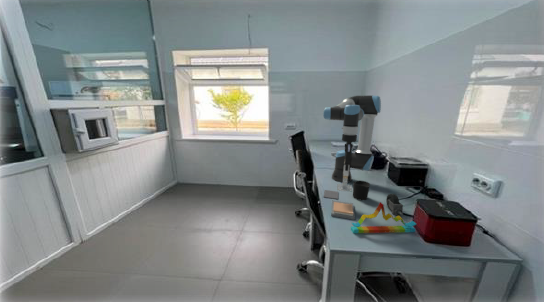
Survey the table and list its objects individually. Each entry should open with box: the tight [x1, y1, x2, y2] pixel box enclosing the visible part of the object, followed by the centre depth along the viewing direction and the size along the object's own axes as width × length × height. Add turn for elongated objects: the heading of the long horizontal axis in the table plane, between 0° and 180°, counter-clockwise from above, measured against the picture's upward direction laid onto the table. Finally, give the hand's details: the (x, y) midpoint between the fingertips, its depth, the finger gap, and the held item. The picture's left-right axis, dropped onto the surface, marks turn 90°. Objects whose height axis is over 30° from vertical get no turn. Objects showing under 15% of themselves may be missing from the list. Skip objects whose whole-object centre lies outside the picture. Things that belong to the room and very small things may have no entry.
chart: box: [350, 202, 417, 234], centre depth 99 cm, size 30×3×15 cm, turn 93°
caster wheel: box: [385, 193, 404, 216], centre depth 117 cm, size 6×10×15 cm
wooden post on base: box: [336, 162, 353, 193], centre depth 119 cm, size 8×8×18 cm
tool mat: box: [323, 189, 339, 200], centre depth 138 cm, size 11×9×1 cm
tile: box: [333, 202, 353, 216], centre depth 117 cm, size 2×10×10 cm
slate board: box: [330, 199, 356, 221], centre depth 119 cm, size 16×12×2 cm
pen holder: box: [352, 180, 371, 201], centre depth 134 cm, size 9×9×10 cm
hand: (345, 174), depth 119 cm, fingers closed on wooden post on base, 2 cm apart
